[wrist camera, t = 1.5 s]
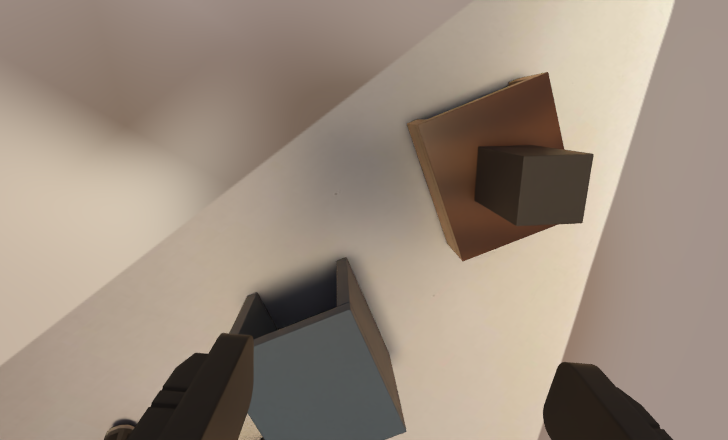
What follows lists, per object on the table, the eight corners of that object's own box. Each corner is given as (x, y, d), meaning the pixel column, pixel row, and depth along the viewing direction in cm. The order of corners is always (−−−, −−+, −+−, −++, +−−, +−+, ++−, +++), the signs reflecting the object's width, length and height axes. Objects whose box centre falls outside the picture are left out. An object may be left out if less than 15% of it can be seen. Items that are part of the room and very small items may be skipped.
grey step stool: (247, 296, 39) (214, 361, 29) (346, 256, 39) (350, 309, 28) (299, 389, 43) (287, 476, 33) (389, 354, 43) (406, 432, 32)
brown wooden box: (406, 123, 35) (417, 124, 30) (519, 77, 35) (548, 71, 30) (447, 243, 39) (462, 261, 34) (548, 204, 39) (578, 216, 34)
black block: (474, 200, 33) (516, 226, 25) (477, 146, 31) (523, 156, 24) (525, 198, 33) (582, 223, 25) (531, 144, 32) (593, 153, 24)
